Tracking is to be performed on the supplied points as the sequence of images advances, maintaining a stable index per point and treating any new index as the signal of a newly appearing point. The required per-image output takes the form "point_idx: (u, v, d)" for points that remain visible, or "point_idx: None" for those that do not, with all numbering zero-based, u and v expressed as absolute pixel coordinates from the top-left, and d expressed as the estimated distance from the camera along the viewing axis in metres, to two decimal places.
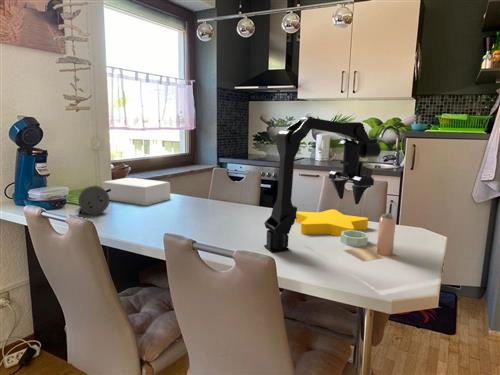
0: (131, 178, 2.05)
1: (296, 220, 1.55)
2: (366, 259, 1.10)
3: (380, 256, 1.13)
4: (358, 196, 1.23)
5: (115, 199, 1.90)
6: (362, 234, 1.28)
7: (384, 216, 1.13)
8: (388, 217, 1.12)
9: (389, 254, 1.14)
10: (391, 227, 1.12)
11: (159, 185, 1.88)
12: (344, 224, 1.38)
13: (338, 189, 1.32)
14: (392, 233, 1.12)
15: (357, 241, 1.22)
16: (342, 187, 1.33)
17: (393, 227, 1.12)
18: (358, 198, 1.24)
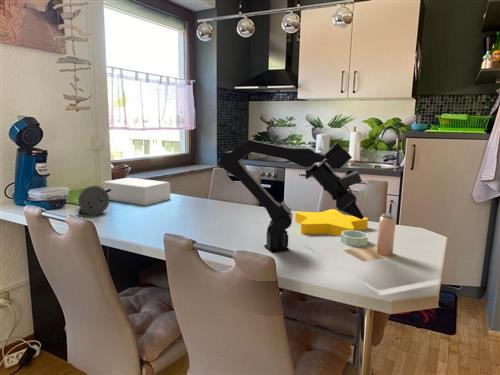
0: (131, 178, 2.05)
1: (296, 220, 1.55)
2: (366, 259, 1.10)
3: (380, 256, 1.13)
4: (355, 213, 1.10)
5: (115, 199, 1.90)
6: (362, 234, 1.28)
7: (384, 216, 1.13)
8: (388, 217, 1.12)
9: (389, 254, 1.14)
10: (391, 227, 1.12)
11: (159, 185, 1.88)
12: (344, 224, 1.38)
13: None
14: (392, 233, 1.12)
15: (357, 241, 1.22)
16: None
17: (393, 227, 1.12)
18: (357, 214, 1.10)
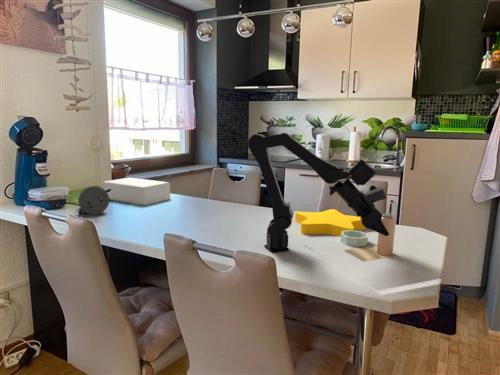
0: (132, 178, 2.05)
1: (296, 220, 1.55)
2: (366, 259, 1.10)
3: (380, 256, 1.13)
4: (381, 229, 1.09)
5: (115, 199, 1.90)
6: (362, 234, 1.28)
7: (384, 216, 1.13)
8: (388, 217, 1.12)
9: (389, 254, 1.14)
10: (391, 227, 1.12)
11: (158, 185, 1.87)
12: (344, 224, 1.38)
13: None
14: (392, 233, 1.12)
15: (357, 241, 1.22)
16: None
17: (393, 227, 1.12)
18: (383, 231, 1.09)
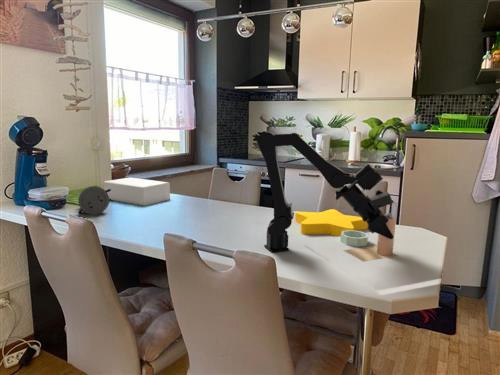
0: (132, 178, 2.05)
1: (296, 220, 1.55)
2: (366, 259, 1.10)
3: (380, 256, 1.13)
4: (385, 233, 1.11)
5: (114, 199, 1.91)
6: (362, 234, 1.28)
7: None
8: (388, 217, 1.12)
9: (389, 254, 1.14)
10: (391, 227, 1.12)
11: (158, 185, 1.87)
12: (344, 224, 1.38)
13: None
14: (392, 233, 1.12)
15: (357, 241, 1.22)
16: None
17: (393, 227, 1.12)
18: (387, 234, 1.11)
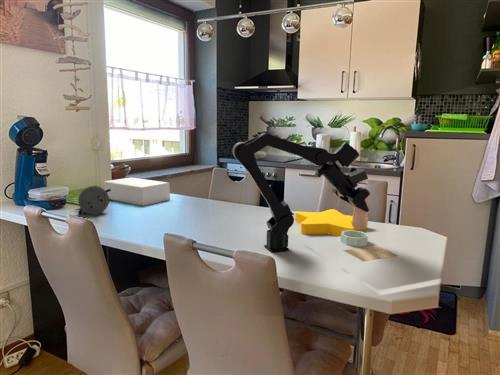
0: (133, 178, 2.06)
1: (296, 220, 1.55)
2: (366, 259, 1.10)
3: (380, 256, 1.13)
4: (363, 206, 1.19)
5: (114, 199, 1.91)
6: (362, 234, 1.28)
7: None
8: None
9: (364, 226, 1.22)
10: (366, 200, 1.21)
11: (157, 185, 1.87)
12: (344, 224, 1.38)
13: None
14: None
15: (357, 241, 1.22)
16: None
17: (368, 201, 1.21)
18: (364, 207, 1.20)
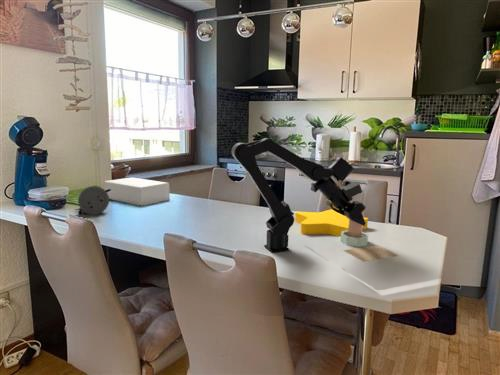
0: (134, 178, 2.06)
1: (296, 220, 1.55)
2: (366, 259, 1.10)
3: (380, 256, 1.13)
4: (360, 220, 1.20)
5: (114, 199, 1.91)
6: (362, 234, 1.28)
7: None
8: None
9: None
10: None
11: (157, 185, 1.86)
12: (344, 224, 1.38)
13: (344, 214, 1.29)
14: None
15: (357, 241, 1.22)
16: None
17: (363, 217, 1.24)
18: (361, 221, 1.21)
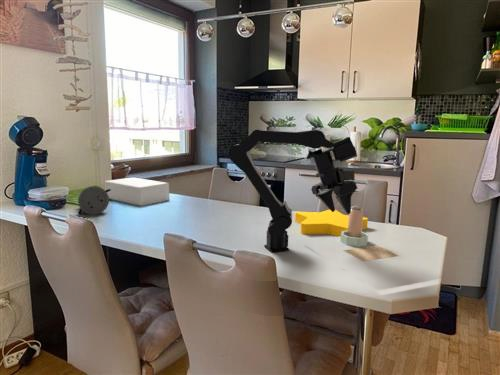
0: (134, 178, 2.06)
1: (296, 220, 1.55)
2: (366, 259, 1.10)
3: (380, 256, 1.13)
4: (347, 205, 1.11)
5: (114, 199, 1.92)
6: (362, 234, 1.28)
7: (354, 208, 1.24)
8: (358, 209, 1.23)
9: None
10: (360, 217, 1.23)
11: (156, 186, 1.86)
12: (344, 224, 1.38)
13: (326, 202, 1.20)
14: (361, 223, 1.24)
15: (357, 241, 1.22)
16: (330, 199, 1.21)
17: (362, 217, 1.24)
18: (348, 207, 1.11)
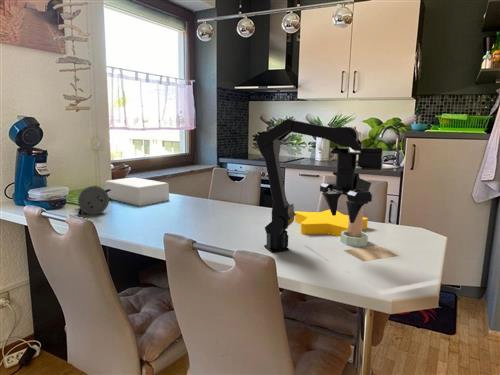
0: (135, 178, 2.06)
1: (296, 220, 1.55)
2: (366, 259, 1.10)
3: (380, 256, 1.13)
4: (353, 214, 1.05)
5: (114, 199, 1.92)
6: (362, 234, 1.28)
7: None
8: None
9: None
10: (360, 217, 1.23)
11: (155, 186, 1.86)
12: (344, 224, 1.38)
13: (330, 204, 1.14)
14: (361, 223, 1.24)
15: (357, 241, 1.22)
16: (335, 202, 1.15)
17: (362, 217, 1.24)
18: (353, 216, 1.06)
